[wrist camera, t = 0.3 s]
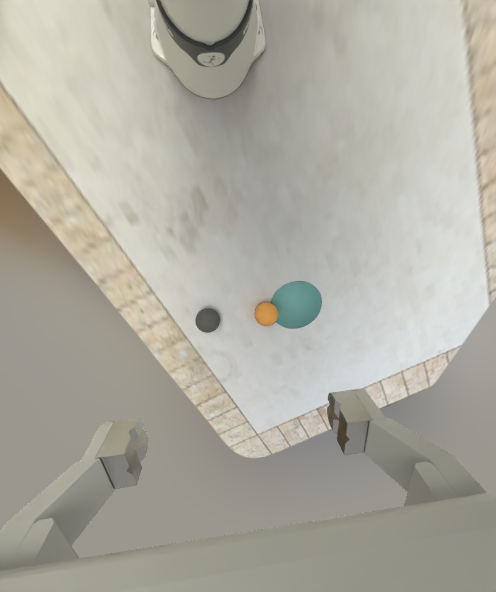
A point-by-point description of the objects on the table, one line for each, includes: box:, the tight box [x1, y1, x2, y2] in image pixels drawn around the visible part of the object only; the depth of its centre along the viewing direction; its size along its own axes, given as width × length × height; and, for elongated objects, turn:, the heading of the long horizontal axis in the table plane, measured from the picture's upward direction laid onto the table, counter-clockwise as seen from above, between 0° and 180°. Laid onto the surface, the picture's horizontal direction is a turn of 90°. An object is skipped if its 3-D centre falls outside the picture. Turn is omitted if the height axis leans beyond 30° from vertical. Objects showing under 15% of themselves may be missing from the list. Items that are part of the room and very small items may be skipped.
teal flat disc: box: [271, 281, 322, 329], centre depth 62 cm, size 13×13×1 cm
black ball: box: [196, 309, 220, 333], centre depth 58 cm, size 6×6×6 cm
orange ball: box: [255, 302, 278, 326], centre depth 59 cm, size 6×6×6 cm
